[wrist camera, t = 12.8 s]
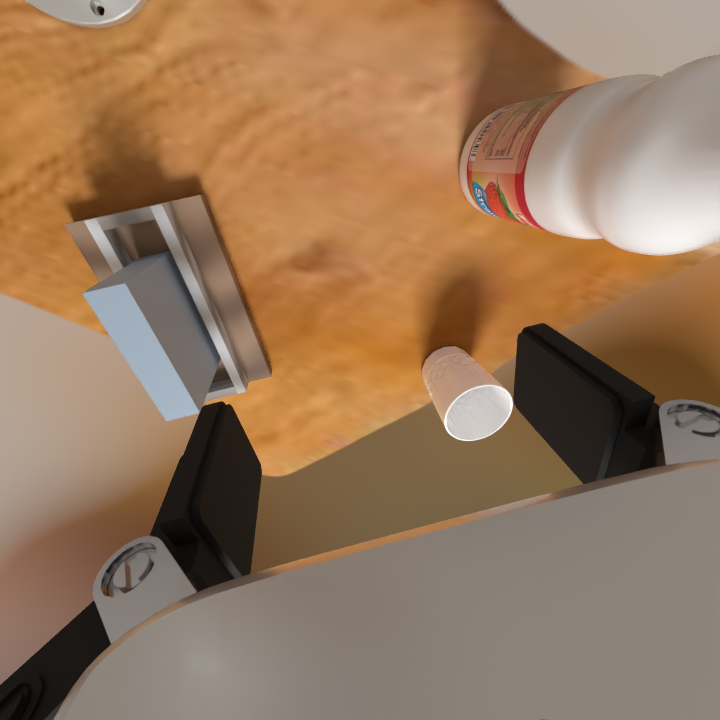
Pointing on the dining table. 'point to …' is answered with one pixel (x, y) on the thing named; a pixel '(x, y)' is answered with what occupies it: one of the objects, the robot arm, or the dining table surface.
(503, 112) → the fruit juice
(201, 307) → the track plinth
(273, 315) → the dining table surface
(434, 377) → the white cup
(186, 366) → the plain gray rectangular block
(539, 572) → the robot arm
